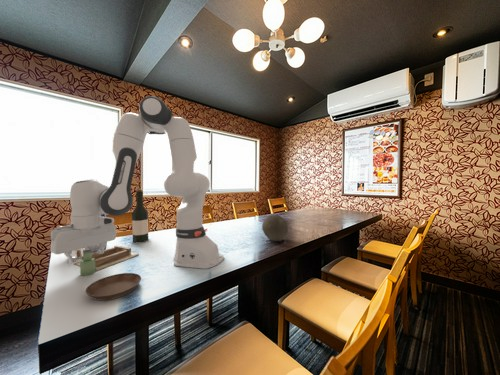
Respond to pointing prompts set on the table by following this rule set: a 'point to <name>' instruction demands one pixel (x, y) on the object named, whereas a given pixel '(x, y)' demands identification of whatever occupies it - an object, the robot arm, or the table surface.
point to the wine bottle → (140, 220)
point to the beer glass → (77, 253)
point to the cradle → (111, 257)
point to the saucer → (113, 286)
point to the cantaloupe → (275, 228)
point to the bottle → (87, 263)
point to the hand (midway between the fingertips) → (87, 257)
